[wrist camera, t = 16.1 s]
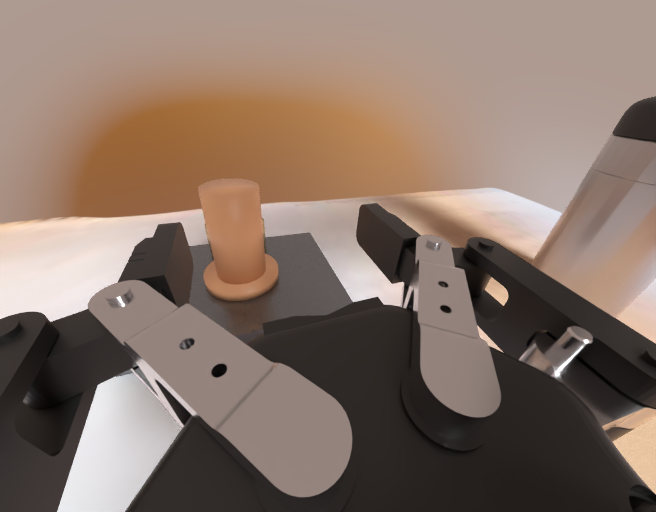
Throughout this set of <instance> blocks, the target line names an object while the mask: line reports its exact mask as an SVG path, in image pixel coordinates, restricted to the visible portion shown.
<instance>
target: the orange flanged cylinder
mask: <svg viewBox="0 0 656 512" xmlns="http://www.w3.org/2000/svg"><path fill="white" fill-rule="evenodd" d="M198 192H199V196H200V201H201V205H202V210H203V214H204V218H205V223H206V227H207V232H208V236H209V240H210V245H211V249H212V254H213V258H214V261H212V262H211V263H210V264H209V265H208V266H207V268H206V269H205V271H204V275H203V276H204V281H205V285H206V289H207V290H208V292H209V293H210V294H211V295H213V296H214V297H216V298H219V299H222V300H227V301H243V300H249V299H253V298H256V297H258V296H261V295H263V294H265V293H266V292H268V291H269V290H270V289H272V288H273V287H274V285H275V284H276V283H277V280H278V277H279V272H278V264H277V262H276V260H275V259H274V258H273V257H271V256H270V255H268V254H265V249H264V238H263V227H262V216H261V205H260V194H259V186H258V184H257V183H255V182H253V181H250V180H245V179H233V178H231V179H218V180H213V181H209V182H206V183H204V184H202V185H200V186H199V187H198Z"/></svg>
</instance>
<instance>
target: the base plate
mask: <svg viewBox="0 0 656 512" xmlns="http://www.w3.org/2000/svg"><path fill="white" fill-rule="evenodd" d="M262 227H263V238H264V249H265V254H268V255H270V256H271V257H273V258H274V259H275V260H276V262H277V264H278V272H279V277H278V280H277V283H276V284H275V285H274V287H273V288H272V289H270V290H269V291H268V292H266V293H265V294H263V295H261V296H258V297H256V298H253V299H249V300H243V301H227V300H222V299H219V298H216V297H214V296H213V295H211V294H210V293H209V292H208V290H207V289H206V285H205V281H204V276H203V275H204V271H205V269H206V268H207V266H208V265H209V264H210V263H211V262H212V261H214V258H213V254H212V249H211V245H210V240H209V236H208V232H207V227H206V223H205V229H206V233H207V238H208V242H209V244H206V245H198V246H189V248H190V251H191V255H192V259H193V276H192V284H191V291H190V299H189V304H190V305H191V306H193V307H194V308H196V309H197V310H198V311H200V312H201V313H203V314H204V315H206V316H207V317H208V318H210V319H211V320H213V321H214V322H215V323H217V324H218V325H220V326H221V327H222V328H224V329H225V330H227V331H228V332H229V333H231V334H232V335H234V336H235V337H236V338H238V339H239V340H241V341H242V342H244V343H245V344H246V343H248V342H249V341H250V340H252V339H253V338H255V337H257V336H259V335H261V334H263V333H264V332H263V325H262V323H266V322H270V321H274V320H279V319H283V318H287V317H292V316H314V315H328V314H330V313H332V312H334V311H337V310H339V309H341V308H343V307H345V306H347V305H349V304H351V303H353V302H352V300H351V299H350V297H349V295H348V294H347V292H346V290H345V289H344V287H343V286H342V284H341V282H340V281H339V279H338V278H337V276H336V274H335V273H334V271H333V270H332V268H331V266H330V265H329V263H328V262H327V260H326V258H325V257H324V255H323V253H322V252H321V250H320V249H319V247H318V245H317V244H316V242H315V241H314V239H313V237H312V236H311V234H310V233H302V234H294V235H285V236H276V237H268V238H265V229H264V219H263V218H262ZM129 373H133V372H132V371H131V369H129V370H127V371H125V372H123V373H121V374H119V375H117V376H121V375H125V374H129ZM117 376H116V377H117Z"/></svg>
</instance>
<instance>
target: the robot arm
mask: <svg viewBox="0 0 656 512" xmlns="http://www.w3.org/2000/svg"><path fill="white" fill-rule="evenodd" d="M356 237H357V241H358V244H359V245H360V246H361V247H362V249H363V250H364V251H365V252H366V253H367V255H368V256H369V257H370V258H371V259H372V260H373V262H374V263H375V264H376V265H377V266H378V268H379V269H380V270H381V271H382V272H383V274H384V275H385V276H386V277H387V278H388V279H389V281H390V282H391V283H392V284H393V283H398V282H404V284H403V288H402V295H401V305H400V307H399V306H393V305H383V303H382V302H381V300H380V299H379V298H378V297H375V298H371V299H366V300H362V301H358V302H353V303H351V304H349V305H347V306H345V307H343V308H341V309H339V310H337V311H334V312H332V313H330V314H328V315H314V316H292V317H287V318H283V319H279V320H274V321H270V322H266V323H262V325H263V332H264V333H263V334H261V335H259V336H257V337H255V338H253V339H252V340H250V341H249V342H248V343H246V344H245V343H244V342H242V341H241V340H239V339H238V338H236V337H235V336H234V335H232V334H231V333H229V332H228V331H227V330H225V329H224V328H222V327H221V326H220V325H218V324H217V323H215V322H214V321H213V320H211V319H210V318H208V317H207V316H206V315H204V314H203V313H201V312H200V311H198V310H197V309H196V308H194V307H193V306H191V305H190V304H189V299H190V291H191V284H192V276H193V259H192V255H191V251H190V248H189V245H188V242H187V239H186V235H185V232H184V229H183V226H182V224H181V223H180V222H179V223H169V224H159V225H158V227H157V229H156V231H155V234H154V236H153V237H152V238H145V239H144V240H143V241H141V242H140V243H139V244H137V245H136V246H135V248H134V250H133V252H132V256H130V258H129V260H128V262H129V263H127V264H126V267H125V269H124V271H123V273H122V275H121V277H120V279H119V281H118V283H115V284H112V285H110V286H108V287H106V288H104V289H102V290H101V291H99V292H98V293H96V294H95V295H94V296H93V297H92V298H91V299H90V301H89V303H88V309H87V310H84V311H81V312H79V313H76V314H73V315H70V316H67V317H64V318H61V319H58V320H55V321H53V322H50V321H49V320H48V319H47V317H46V316H45V315H44V314H42V313H39V312H24V313H19V314H15V315H11V316H8V317H5V318H2V319H0V512H57V510H58V507H59V504H60V500H61V497H62V494H63V491H64V488H65V485H66V482H67V479H68V476H69V472H70V469H71V466H72V463H73V460H74V457H75V454H76V451H77V448H78V444H79V441H80V438H81V435H82V432H83V429H84V426H85V423H86V419H87V416H88V413H89V410H90V407H91V404H92V401H93V398H94V395H95V391H96V388H97V385H98V384H100V383H102V382H104V381H106V380H108V379H111V378H113V377H115V376H117V375H119V374H121V373H123V372H125V371H127V370H129V369H131V371H132V372H133V373H134V374H135V375H136V376H137V377H138V378H139V379H140V380H141V381H142V382H143V384H144V385H145V386H146V387H147V388H148V389H149V390H150V391H151V392H152V393H153V394H154V395H155V396H156V398H157V399H158V400H159V401H160V402H161V403H162V404H163V405H164V406H165V408H166V409H167V410H168V411H169V413H170V414H171V415H172V417H173V418H174V419H175V420H176V421H177V423H178V424H179V425H180V426H181V427H182V430H181V431H180V433H179V434H178V436H177V437H176V439H175V440H174V441H173V443H172V444H171V446H170V447H169V449H168V450H167V452H166V453H165V455H164V456H163V457H162V459H161V460H160V462H159V463H158V465H157V466H156V468H155V469H154V470H153V472H152V473H151V475H150V476H149V478H148V479H147V481H146V482H145V484H144V485H143V486H142V488H141V489H140V491H139V492H138V494H137V495H136V497H135V498H134V500H133V501H132V502H131V504H130V505H129V507H128V508H127V510H126V511H125V512H656V494H654V493H653V491H652V490H651V489H650V488H649V487H648V486H647V485H646V484H645V483H644V481H643V480H642V479H641V478H640V477H639V476H638V475H637V473H636V472H635V471H634V470H633V469H632V467H631V466H630V465H629V464H628V462H627V461H626V460H625V459H624V457H623V456H622V455H621V453H620V452H619V451H618V449H617V448H616V447H615V445H614V444H613V442H612V441H614V440H616V439H618V438H619V437H621V436H623V435H624V434H626V433H628V432H630V431H631V430H633V429H635V428H636V427H638V426H640V425H642V424H643V423H645V422H647V421H648V420H650V419H652V418H654V417H655V416H656V344H655V343H653V342H652V341H650V340H649V339H647V338H646V337H644V336H642V335H641V334H639V333H638V332H636V331H635V330H633V329H631V328H630V327H628V326H627V325H625V324H624V323H622V322H620V321H619V320H617V319H616V317H617V316H618V315H619V314H620V313H621V312H622V311H623V310H624V309H625V308H626V307H627V306H628V305H629V304H630V303H631V302H632V301H633V300H634V299H635V298H636V297H637V296H638V295H639V294H640V293H641V292H642V291H643V290H644V289H645V288H646V287H647V286H648V285H649V284H650V283H651V282H652V281H653V280H654V279H655V278H656V97H651V98H647V99H643V100H641V101H638V102H637V103H635V104H633V105H632V106H631V107H630V108H629V109H628V110H627V111H626V112H625V113H624V115H623V116H622V118H621V119H620V121H619V123H618V124H617V126H616V127H615V129H614V131H613V135H611V136H610V137H609V139H608V140H607V142H606V144H605V145H604V147H603V148H602V150H601V152H600V153H599V155H598V156H597V158H596V160H595V161H594V163H593V164H592V167H591V168H590V170H589V171H588V173H587V174H586V176H585V178H584V179H583V181H582V182H581V184H580V186H579V188H578V189H577V191H576V192H575V194H574V195H573V197H572V199H571V200H570V202H569V203H568V205H567V207H566V208H565V210H564V211H563V213H562V215H561V216H560V218H559V220H558V221H557V223H556V224H555V226H554V228H553V229H552V231H551V232H550V234H549V236H548V237H547V239H546V241H545V242H544V244H543V245H542V247H541V249H540V250H539V252H538V253H537V255H536V257H535V258H534V260H533V261H532V263H531V264H529V263H528V262H526V261H525V260H523V259H522V258H520V257H518V256H517V255H515V254H514V253H512V252H511V251H509V250H507V249H506V248H504V247H503V246H501V245H500V244H498V243H496V242H494V241H492V240H489V239H485V238H479V237H474V238H470V239H469V240H468V242H467V244H466V246H465V248H452V247H451V245H450V243H449V242H447V241H446V240H444V239H442V238H440V237H437V236H432V235H422V236H421V235H420V234H418V233H417V232H416V231H415V230H413V229H412V228H411V227H409V226H408V225H407V224H406V223H404V222H403V221H402V220H400V219H399V218H398V217H397V216H395V215H393V214H391V213H388V212H387V211H386V210H385V209H383V208H382V207H381V206H380V205H378V204H377V203H374V204H364V205H361V207H360V209H359V217H358V224H357V232H356ZM491 277H493V278H494V279H495V280H496V281H498V282H499V283H500V284H501V285H503V286H504V287H505V288H506V289H507V291H508V295H509V298H508V300H507V302H506V304H505V305H504V306H503V305H502V304H500V303H499V302H498V301H497V300H496V299H495V298H493V297H492V296H491V295H490V294H489V293H488V292H486V291H485V290H484V289H485V287H486V286H487V284H488V282H489V280H490V278H491ZM477 325H478V326H479V327H480V328H481V329H482V330H483V331H484V332H485V333H486V335H487V336H488V337H489V338H490V339H491V340H492V341H493V342H494V343H495V344H496V345H497V346H498V347H499V348H500V349H501V350H502V351H503V352H504V353H503V352H501V351H499V350H496V349H494V348H492V347H490V346H488V344H487V342H486V341H484V340H482V339H481V338H480V336H479V332H478V328H477Z"/></svg>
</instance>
